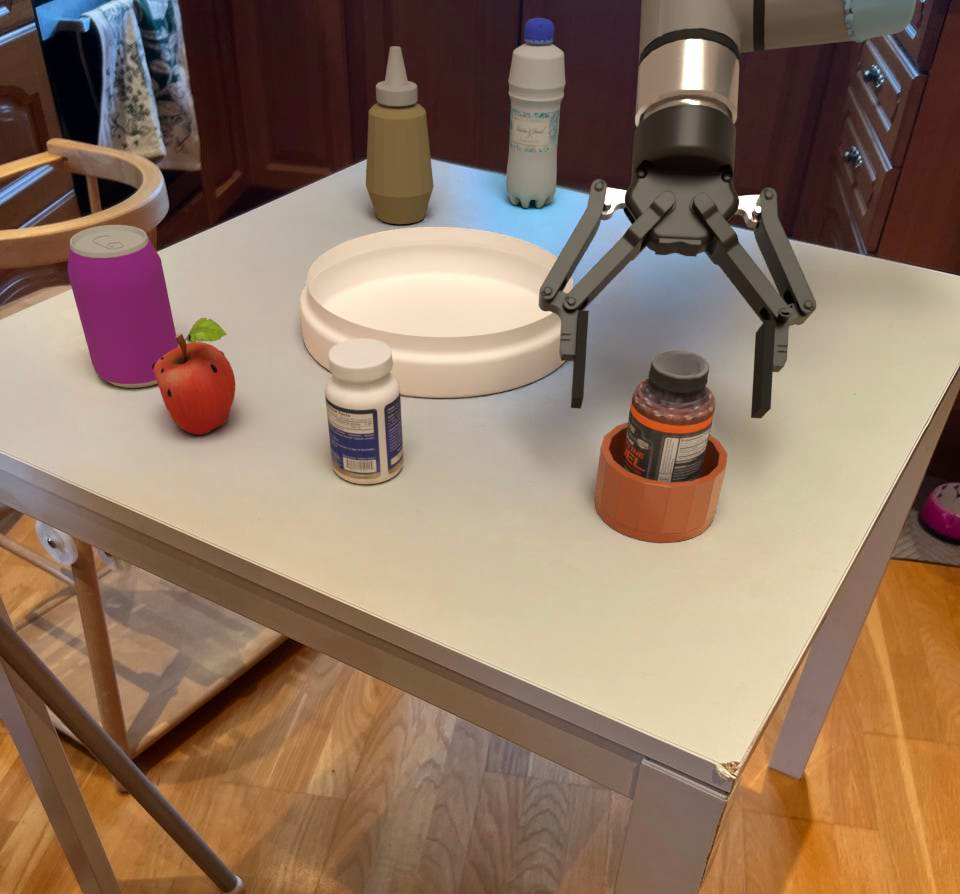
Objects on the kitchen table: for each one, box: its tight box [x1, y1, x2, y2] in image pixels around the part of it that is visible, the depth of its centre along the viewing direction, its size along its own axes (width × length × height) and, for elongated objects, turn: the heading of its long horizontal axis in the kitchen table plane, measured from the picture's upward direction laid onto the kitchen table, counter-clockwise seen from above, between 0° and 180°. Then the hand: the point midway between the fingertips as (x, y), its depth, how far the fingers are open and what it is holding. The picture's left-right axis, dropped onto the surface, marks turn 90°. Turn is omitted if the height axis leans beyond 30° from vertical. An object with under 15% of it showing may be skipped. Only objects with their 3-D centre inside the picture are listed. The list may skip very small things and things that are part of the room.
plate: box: [299, 226, 574, 399], centre depth 94 cm, size 27×27×6 cm
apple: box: [152, 317, 236, 436], centre depth 78 cm, size 8×7×10 cm
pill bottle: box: [324, 338, 404, 485], centre depth 75 cm, size 6×6×10 cm
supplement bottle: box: [622, 349, 716, 482], centre depth 71 cm, size 6×6×11 cm
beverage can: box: [67, 224, 179, 389], centre depth 84 cm, size 8×8×12 cm
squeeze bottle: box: [365, 45, 435, 225], centre depth 112 cm, size 8×8×18 cm
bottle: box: [505, 17, 567, 209], centre depth 116 cm, size 7×7×20 cm
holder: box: [594, 421, 728, 544], centre depth 73 cm, size 9×9×5 cm
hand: (668, 409), depth 72 cm, fingers open, 13 cm apart
